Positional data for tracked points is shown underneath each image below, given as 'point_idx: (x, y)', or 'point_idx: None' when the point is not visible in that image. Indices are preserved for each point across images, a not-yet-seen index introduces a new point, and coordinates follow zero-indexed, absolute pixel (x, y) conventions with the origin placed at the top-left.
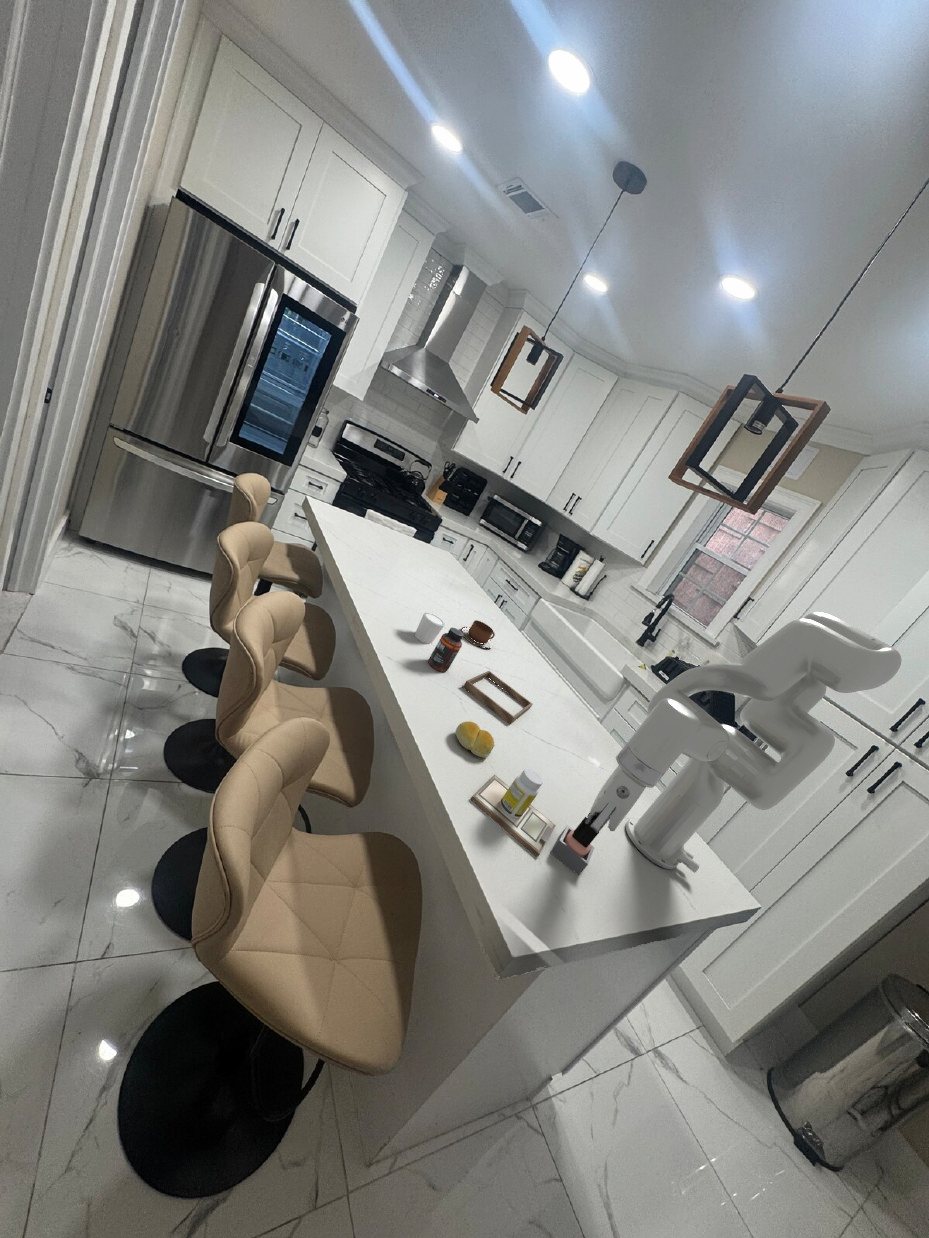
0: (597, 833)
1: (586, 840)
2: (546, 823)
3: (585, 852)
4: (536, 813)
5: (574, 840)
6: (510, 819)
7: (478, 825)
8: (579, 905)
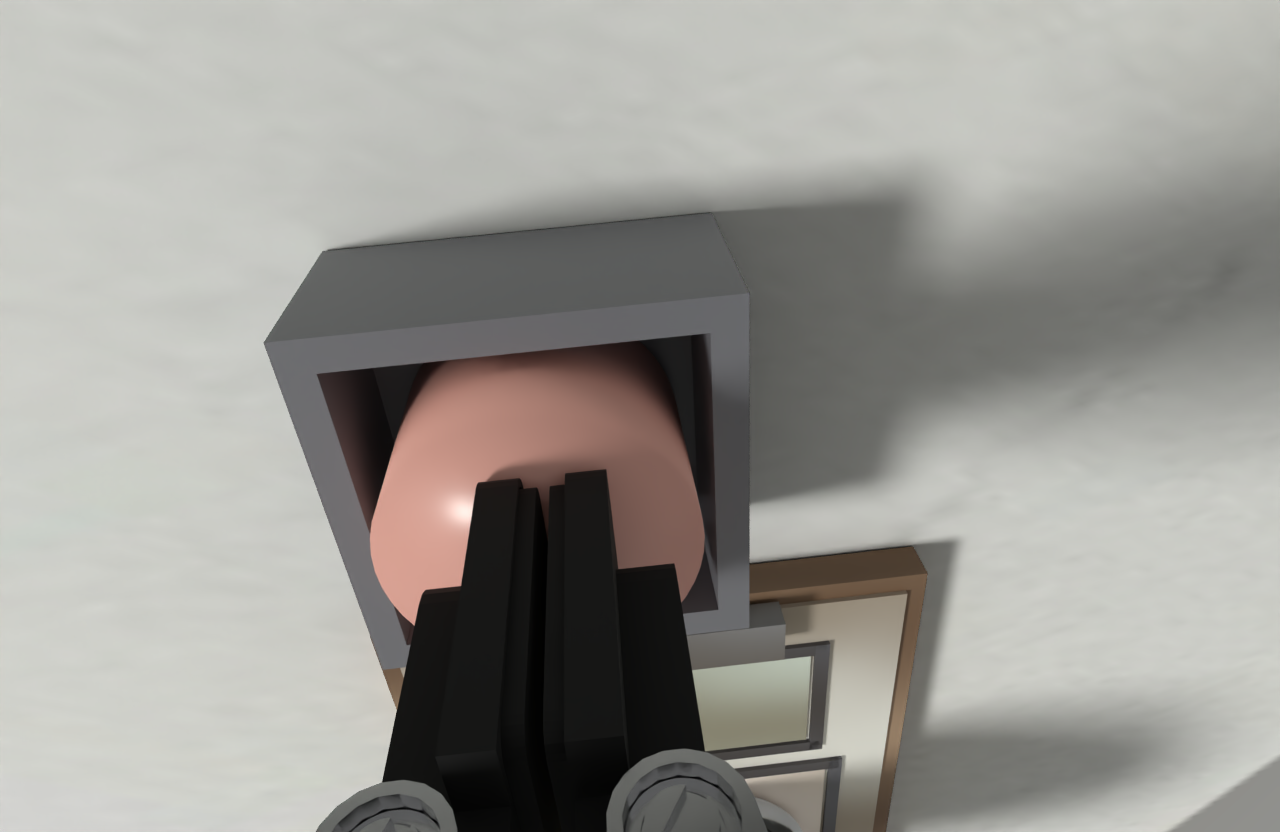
0: (618, 711)
1: (675, 594)
2: None
3: (631, 413)
4: None
5: None
6: (815, 804)
7: (1024, 817)
8: (1147, 45)
